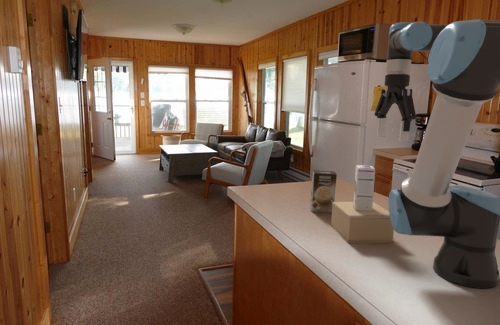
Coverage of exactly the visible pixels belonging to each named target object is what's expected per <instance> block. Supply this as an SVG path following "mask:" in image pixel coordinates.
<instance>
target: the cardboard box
mask: <svg viewBox="0 0 500 325" xmlns="http://www.w3.org/2000/svg"><path fill="white" fill-rule="evenodd" d="M330 223H331V224H330V227H331V228H333V230H335V232H337V233H338V234H339V236H341V237H342V239H343V240H345V242H346V243H348V244H371V243H372V244H374V243H375V244H376V243H379V244H380V243H393V242H394V232H395V230H394V229H393V226H392V224H391V220H390V218H380V219H349V218H348V217H347V216H346V215H345V214H343V213H342V212H341V211H340V210H339V209H337V208H336V207H335V206H334V205H333V204H332V213H331V220H330Z"/></svg>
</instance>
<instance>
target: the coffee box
mask: <svg viewBox="0 0 500 325" xmlns="http://www.w3.org/2000/svg"><path fill="white" fill-rule="evenodd" d="M337 176H338V174H337V172H336V171H333V170H320V169H319V170H318V169H313V170H312V177H311V178H312V180H311V190H310V191H311V193H310V194H311V195H310V202H309V203H310V206H309V208H310V211H311V212H317V213H329V214H330V213H331V214H332V202H336V201H335V199H336V189H337V188H336V187H337V186H336V185H337Z"/></svg>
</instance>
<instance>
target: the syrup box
mask: <svg viewBox="0 0 500 325" xmlns="http://www.w3.org/2000/svg"><path fill="white" fill-rule="evenodd" d="M354 172H355V174H354V186H353V187H354V188H353V201H352V202H353V206H354V209H355V210H358V211H372V207H373V202H374V194H375V192H374V190H375V179H376V178H375V177H376V176H375V175H376V168H374V166H373V165H367V164H359V165H357V164H355V171H354Z"/></svg>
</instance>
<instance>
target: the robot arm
mask: <svg viewBox="0 0 500 325" xmlns="http://www.w3.org/2000/svg"><path fill="white" fill-rule="evenodd" d="M387 38H388V44H387V55H386V64H385V73H386V74H385V77H384V86H385V87H387V89H385V88H384V89H381V90H380V97H379V100H378V102H377V105H376V108H375V112H374V116H375V117H376V118H377V126H376V127H377V130H376V137H377V138H385V136H386V127H387V114H388V113H389V111H390V109H391V108H392V106H393V105H394V104H396V105H397V107H398V110H399V113H400V115H401V120H400V125H399V126H400V127H399V136H398V138H399V139H398V142H401V143H408V142H409V135H410V129H411V122H412V121H413V120H416V119H417V114H416V109H415V103H414V99H413V89H412V88H407V87H410V81H411V80H410V79H411V75H410V74H411V70H412V60H413V52H425V53H426V52H429V55H428V59H427V62H428V64H427V67H426V72H427V76H428V79H429V80H430V81H431V82H432V84H431V85H432V86H431V87H432V89H433V90H434V92H435V93H436V98H435V100H434V104H433V107H432V110H431V113H430V116H429V120H428V123H427V124H426V125H427V126H426V128H425V131H424V135H423V138H422V141H421V143H420V144H421V145H420V147H419V150H418V154H417V156H416V159H415V160H416V161H415V163H414V166H413V169H412V173H411V175H410V177H407V178H405V179H404V180H403V181H402V183H401V186H400V189H398V188H395V189H392V190H390V192H389V194H388V195H389V196H388V211H389V215H390V220H391V224H392V226H393V229H394V232H396V233H397V234H399V235H405V236H406V235H407V236H420V237H424V236H425V237H440V238H441V237H442V238H443V242H442V244H441V246H440V248H439V250H438V252H437V255H436V256H435V257H434V259H433V265H432V269H433V272H435V273H436V275H439V276H440V277H441V278H443V279H445V280H446V281H447V280H448V281H449V282H451V283H455V284H458V285H461V286H462V287H463V286H465V287H469V288H473V287H474V289H491V287H492V288H494V287H497V286H498V284H499V282H500V271H499V267H498V261H497V256H496V246H497V243H498V242H497V241H498V234H499V229H500V197H499V196H498V195H496V194H494V193H491V192H488V191H486V190H482V189H478V188H474V187H469V186H464V185H452V186H451V187H450V185H451V182H452V180H453V177H454V175H455V172H456V170H457V167H458V165H459V163H460V159H461V157H462V155H463V152H464V150H465V147H466V145H467V143H468V140H469V138H470V135H471V133H472V130H473V128H474V126H475V123H476V121H477V118H478V116H479V113H480V111H481V109H482V106H483V104H485V103H487V102H489V101H492V100H493V99H494V98H495V96H496V94H497V92H498V90H499V88H500V20H497V19H495V20H494V19H493V20H491V19H490V20H489V19H488V20H487V19H478V18H477V19H471V20H458V21H457V20H456V21H454V22H451V23H449V24H437V23H436V24H435V23H434V24H430V23H429V24H428V23H426V22H425V21H420V20H419V21H415V22H409V21H408V22H405V21H404V22H403V21H402V22H396V23H392V25H391V26H390V27H389V32H388V37H387ZM449 187H450V188H449Z"/></svg>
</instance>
